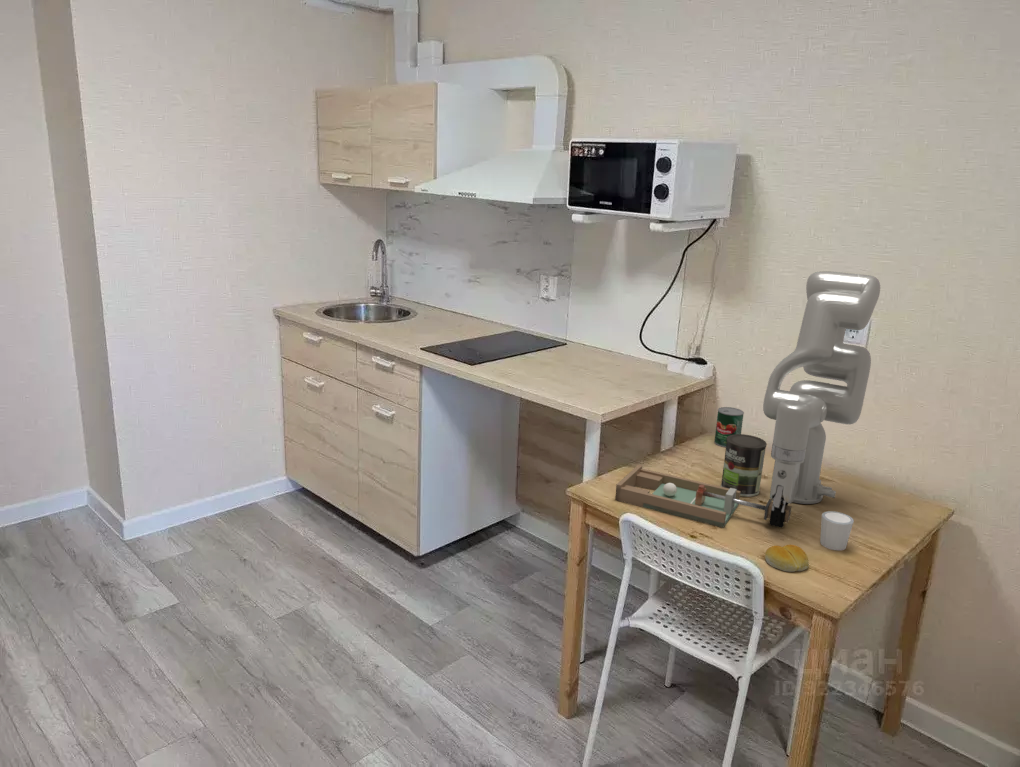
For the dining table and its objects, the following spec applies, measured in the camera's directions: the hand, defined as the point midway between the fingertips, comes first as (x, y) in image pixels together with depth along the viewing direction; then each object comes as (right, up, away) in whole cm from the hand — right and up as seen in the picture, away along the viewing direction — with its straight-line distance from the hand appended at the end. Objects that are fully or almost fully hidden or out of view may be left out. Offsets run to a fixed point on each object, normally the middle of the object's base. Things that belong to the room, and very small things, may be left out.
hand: (777, 522), depth 180 cm
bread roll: (-4, -6, -16) cm, 18 cm away
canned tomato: (+4, +14, +56) cm, 58 cm away
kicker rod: (-8, +2, +4) cm, 9 cm away
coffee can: (-3, +5, +22) cm, 22 cm away
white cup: (+10, -4, -7) cm, 13 cm away
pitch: (-22, +3, +12) cm, 25 cm away
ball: (-24, +6, +12) cm, 27 cm away
